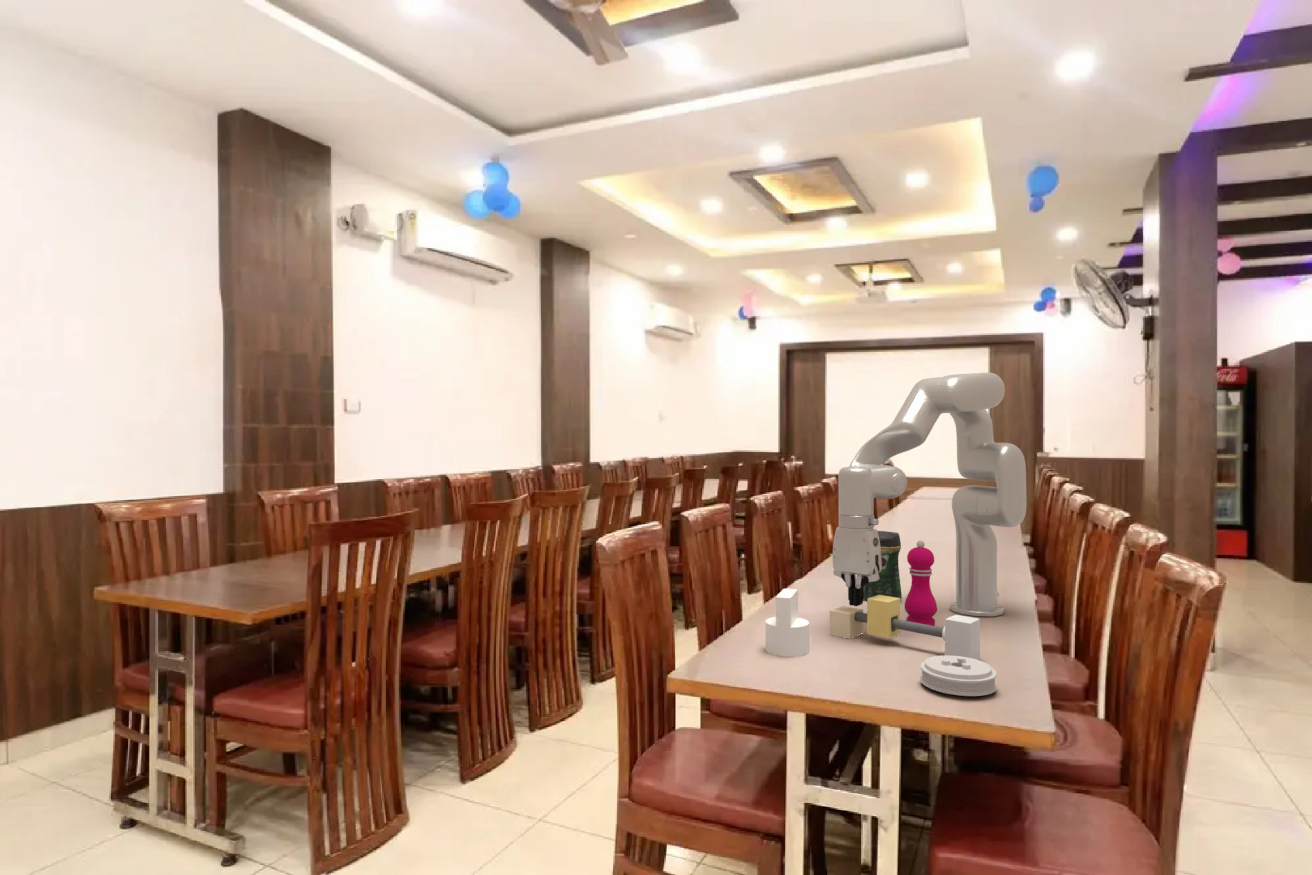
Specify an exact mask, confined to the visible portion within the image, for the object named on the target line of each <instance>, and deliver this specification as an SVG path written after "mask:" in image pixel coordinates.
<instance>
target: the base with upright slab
mask: <svg viewBox="0 0 1312 875" xmlns="http://www.w3.org/2000/svg"><path fill="white" fill-rule="evenodd" d="M798 614H799V589H795V588H782V590H781V591H780V592H779V593H778V594H777V595H776V597H775V616H774V617H769V618H767V619H765V651H766V653H768V654H770V655H773V656H777V657H785V658H796V657H798V658H799V657H803V656H805V654H806V655H808V654H809V653H810V622H809V620H807V619H805V618H802V617H799V615H798Z"/></svg>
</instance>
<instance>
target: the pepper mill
mask: <svg viewBox="0 0 1312 875" xmlns="http://www.w3.org/2000/svg"><path fill="white" fill-rule="evenodd" d="M925 545H926V544H925V542H924V541H923V540H918V541H917V542H916V547H913V548H911V549H910V550H909V551H908V553H907V555H906V556H907V557H906V560H907V563H908V564H909V566H910V567H909V573H908V574H910V575H911V585H910V590H909V592H908V593H907V596H906V597H905V599H904V600H905V601H904V606H903V607H904V608H903V609H904V610H905V612H906V613H907V615H908V616H907V617H906V621H909V622H915V623H920V624H926V625H931V626H936V624H935V623H936V620H935V618H934V616H935V615H936V613H937V612H938V606H937V604H938V603H937V601H936V599H935V596H934V595H933V592H932V589H931V582H930V580H931V576H932V575H933V573H932V571H933V569H932V568H931V567H932V566H933V565H934V564H935V555H934V553H933V551H932V550H930V549H929V548H927V547H925Z"/></svg>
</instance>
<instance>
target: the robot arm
mask: <svg viewBox="0 0 1312 875" xmlns="http://www.w3.org/2000/svg"><path fill="white" fill-rule="evenodd" d="M1005 392H1006V388H1005V383H1004V381H1003V379H1002V378H1001V377H1000V376H999V375H998V374H996V373H993V372H990V371H989V372H976V373H975V372H974V373H957V374H948V375H945V376H941V377H940V376H939V377H928V378H922V379H921V380H918V381H917V382H916V383H915V384H914V385H913V387H912V389H911V390H910V392H909V393H908V396H906V399H905V400H904V403H903V404H902V406H901V408H900V409H899V411H898V412H897V414H896V416H895V417H894V419H893V421H892V422H891V423H890V424H889V425H888V426H886V427H885V428H884V429H882V430H880V431H879V432H878V433H877V434H875V435H874V436H873V437H871V438H870V439H868V440H867V441H866V442H865V443H864V444H863V445H862V446H861V447H860V449H859V450H858V451H857V453H856V454H855V456H854V458H853V459H852V461H851V462H850V464H849V466H845V467H841V469H839V472H838V477H837V478H838V526H837V527H835V528H836V529H835V533H834V536H833V543H832V544H833V545H832V546H833V547H832V560H831V561H832V562H831V563H832V568H833V575H834V576H836V577H839V578H841V579H842V581H843V582H844V583H845V586H846V587H847V592H848V593H847V594H848V595H847V596H848V597H847V599H848V601H849V602H848V603H849V604H848V605H849V606H850V607H853V606H854V607H859V606H862V605H863V603H864V601H865V598H864V587H865V586H866V585H867V584H868V583H869V582H873V581H878V580H879V574H878V573H879V572H881V570H882V559H881V547H880V540H879V535H878V531H879V530H878V529H876V528H874V527H875V526H878V525H879V523H880V520H879V519H877V518H875V515H874V499H876V498H877V499H886V500H890V499H891V500H893V499H896V498H898V497H900V496H902V494H904V493H905V491H906V490H907V486H908V478H907V476H906V473H905V472H904V471H903V470H902V469H901V468H899V467H897V466H893V465H886V464H884V463H885V462H886V461H888V460H889V459H891V458H893V457H895V456H897V455H900V454H902V453H905V452H909V451H910V450H913V449H915V448H918V447H920V446H921V445H923V444H924V443H925V442H926V440H927V438H928V437H929V435H930V434H931V431H932V429H933V428H934V426H935V424H936V422H937V421H938V419H939V417H940V416H941V415H942V414H950V416H951V418H952V420H953V422H954V424H955V425H954V426H955V431H956V462H957V463H956V464H957V470H958V472H959V475H960V476H961V477H962V478H964V479H967V480H972V481H973V480H974V481H984V482H985V481H986V482H995V484H996V486H990V485H977V484H974V485H973V484H972V485H971V484H970V485H964V486H961V487H959V488H958V489H957V490H956V491H955V492H954V493H953V495H952V498H951V510H952V513H953V514H952V515H953V519H954V526H955V527H954V528H955V561H956V562H955V571H956V572H955V576H956V577H955V588H956V589H955V601H952V602H951V603H949V609H950V611H952V612H953V613H956V614H961V615H965V616H970V617H971V616H973V617H982V618H983V617H998V616H1001V615H1003V614H1004V613H1005V608H1004V607H1003V606H1001V605H999V604H998V598H999V596H1000V593H999V592H998V541H997V536H996V534H995V532H994V530H993V528H992V527H991V526H993V527H1002V528H1003V527H1004V528H1014V527H1018V526H1019V525H1020V524H1022V523H1023V522H1024V519H1025V517H1026V513H1027V469H1026V468H1027V467H1026V466H1027V465H1026V460H1025V456H1024V454H1023V451H1021V449H1020V448H1019V447H1018V446H1017V445H1015V444H1013V443H1009V442H995V440H994V429H993V428H994V426H993V420H992V418H991V416H990V414H989V412H988V411H987V410H989V409H992V408H995V407H997V406H999V404H1000V403H1001V402H1002V401H1003V399H1004V396H1005ZM869 575H870V576H869Z"/></svg>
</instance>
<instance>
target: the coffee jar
mask: <svg viewBox="0 0 1312 875" xmlns="http://www.w3.org/2000/svg"><path fill="white" fill-rule="evenodd" d="M877 531H878V535H879V540H880V547H881V559H882V570H881V572H879V573H878V574H879V580H878V581H873V582H869V583H868V584H867V585H866V586H865V587H864V600H866V601H867V599H868V598H871V597H874V596H877V595H883V596H890V597H896V598H900V601H901V600H902V586H901V579H900V569H899V568H900V567H899V555H900V552H901V549H902V543H901V542H902V541H901V538H900V533H899V532H893V531H885V530H877ZM869 576H870V575H869Z"/></svg>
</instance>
